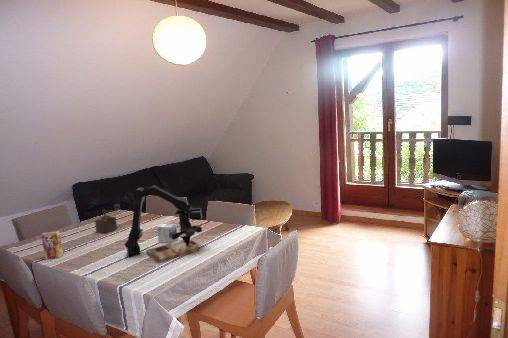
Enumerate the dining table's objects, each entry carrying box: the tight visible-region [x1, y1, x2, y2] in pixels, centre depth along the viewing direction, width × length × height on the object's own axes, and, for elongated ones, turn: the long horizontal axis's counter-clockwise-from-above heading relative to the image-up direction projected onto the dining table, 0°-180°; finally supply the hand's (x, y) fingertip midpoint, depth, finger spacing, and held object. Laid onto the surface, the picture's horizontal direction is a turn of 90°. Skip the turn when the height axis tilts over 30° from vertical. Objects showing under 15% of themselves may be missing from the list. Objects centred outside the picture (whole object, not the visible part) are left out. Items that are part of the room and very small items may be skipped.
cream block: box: [172, 239, 186, 252], centre depth 207 cm, size 6×6×4 cm
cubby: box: [179, 239, 199, 253], centre depth 210 cm, size 12×10×2 cm
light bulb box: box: [156, 223, 179, 244], centre depth 227 cm, size 11×7×11 cm, turn 74°
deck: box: [145, 239, 200, 264], centre depth 209 cm, size 25×19×4 cm
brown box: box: [94, 203, 121, 235], centre depth 258 cm, size 16×11×18 cm
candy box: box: [40, 231, 64, 260], centre depth 213 cm, size 9×4×15 cm, turn 96°
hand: (187, 245), depth 210 cm, fingers closed
